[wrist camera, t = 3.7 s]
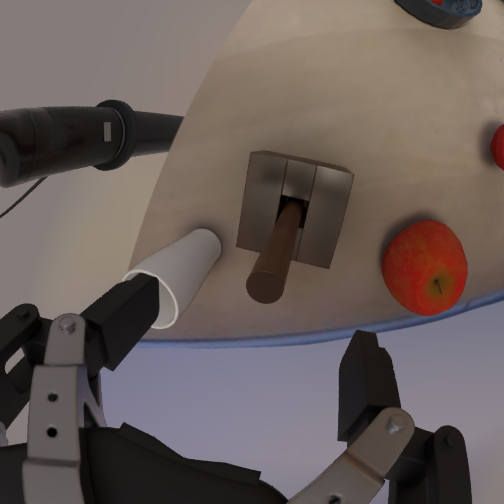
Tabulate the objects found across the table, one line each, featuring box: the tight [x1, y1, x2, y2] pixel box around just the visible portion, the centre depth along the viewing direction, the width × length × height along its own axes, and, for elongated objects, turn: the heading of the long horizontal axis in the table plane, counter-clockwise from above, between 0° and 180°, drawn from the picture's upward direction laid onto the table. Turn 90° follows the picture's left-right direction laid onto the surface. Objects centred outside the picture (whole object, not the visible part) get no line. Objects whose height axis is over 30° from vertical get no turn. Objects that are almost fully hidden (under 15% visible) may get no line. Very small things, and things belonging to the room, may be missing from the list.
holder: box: [236, 151, 354, 269], centre depth 30 cm, size 10×10×7 cm
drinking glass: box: [122, 228, 221, 329], centre depth 31 cm, size 7×7×15 cm
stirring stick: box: [246, 197, 304, 304], centre depth 23 cm, size 2×2×22 cm
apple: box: [382, 220, 468, 316], centre depth 27 cm, size 11×11×11 cm
